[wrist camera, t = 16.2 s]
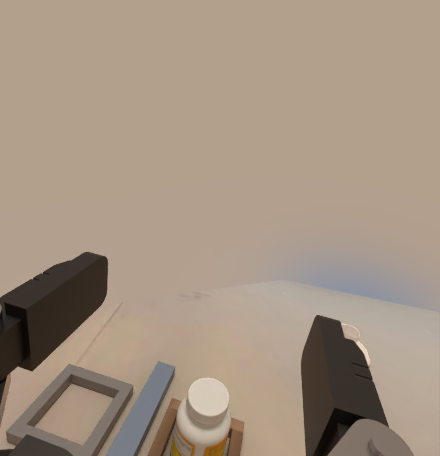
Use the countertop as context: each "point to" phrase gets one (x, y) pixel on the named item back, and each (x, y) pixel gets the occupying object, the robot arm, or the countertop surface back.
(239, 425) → the holder
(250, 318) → the countertop surface
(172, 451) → the supplement bottle
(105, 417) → the holder open
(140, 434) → the door sill
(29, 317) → the robot arm
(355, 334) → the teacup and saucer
